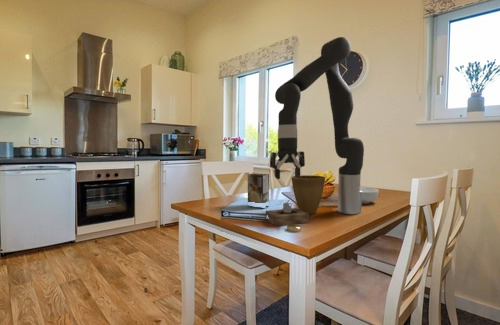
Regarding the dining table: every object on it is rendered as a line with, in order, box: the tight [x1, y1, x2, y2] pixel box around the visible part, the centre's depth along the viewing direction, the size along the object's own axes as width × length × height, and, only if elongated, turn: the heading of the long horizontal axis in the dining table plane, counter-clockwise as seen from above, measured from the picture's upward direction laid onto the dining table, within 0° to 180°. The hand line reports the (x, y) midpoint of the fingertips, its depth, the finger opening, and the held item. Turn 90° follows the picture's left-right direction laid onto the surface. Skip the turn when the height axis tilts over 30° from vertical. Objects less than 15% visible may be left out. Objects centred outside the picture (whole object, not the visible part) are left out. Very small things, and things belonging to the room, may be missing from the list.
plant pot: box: [290, 174, 326, 215], centre depth 123 cm, size 15×15×16 cm
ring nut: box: [286, 224, 303, 233], centre depth 98 cm, size 5×5×2 cm
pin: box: [282, 202, 292, 214], centre depth 109 cm, size 3×3×7 cm
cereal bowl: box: [360, 186, 379, 205], centre depth 145 cm, size 17×17×7 cm
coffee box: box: [247, 172, 270, 203], centre depth 133 cm, size 9×6×16 cm
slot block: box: [265, 207, 310, 227], centre depth 109 cm, size 14×10×4 cm
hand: (287, 178), depth 108 cm, fingers open, 8 cm apart
